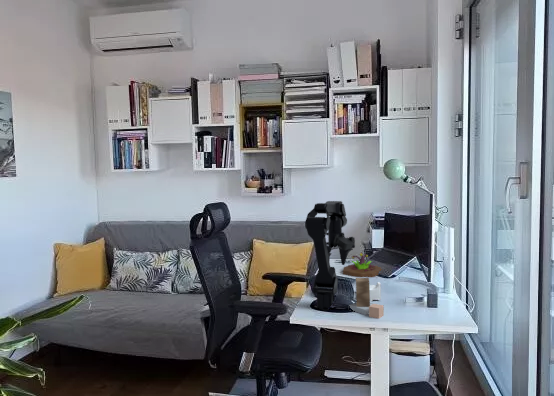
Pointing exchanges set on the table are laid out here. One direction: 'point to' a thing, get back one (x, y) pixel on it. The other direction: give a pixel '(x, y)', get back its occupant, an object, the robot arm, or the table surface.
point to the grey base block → (360, 309)
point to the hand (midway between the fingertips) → (335, 266)
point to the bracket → (375, 291)
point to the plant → (361, 268)
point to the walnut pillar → (362, 292)
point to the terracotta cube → (376, 311)
